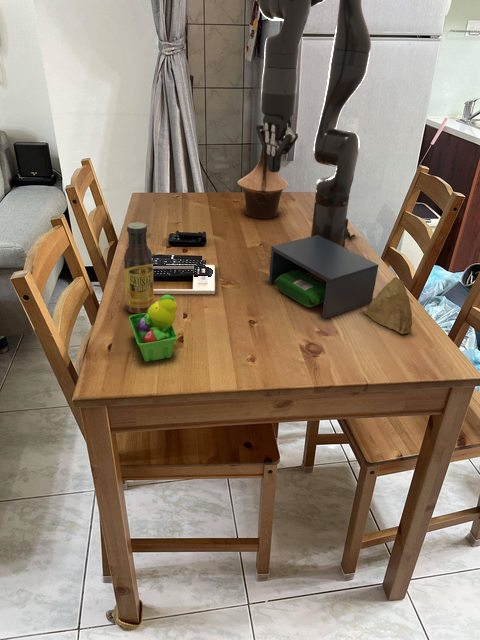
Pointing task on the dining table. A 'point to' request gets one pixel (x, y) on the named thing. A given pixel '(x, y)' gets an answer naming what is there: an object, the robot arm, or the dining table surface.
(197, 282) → the photo frame
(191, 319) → the dining table surface
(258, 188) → the brown cone topped pot
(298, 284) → the snack package
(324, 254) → the open shelf stand
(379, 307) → the rock
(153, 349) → the fruit basket
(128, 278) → the sauce bottle
